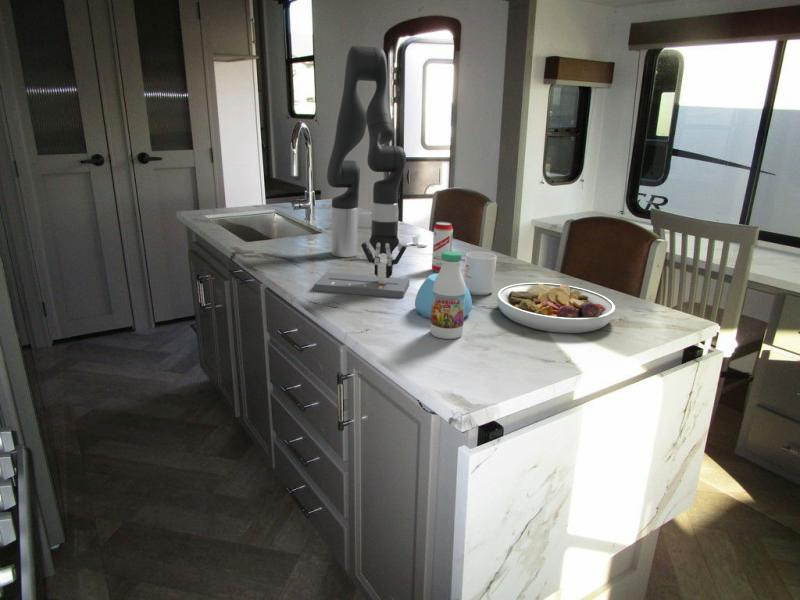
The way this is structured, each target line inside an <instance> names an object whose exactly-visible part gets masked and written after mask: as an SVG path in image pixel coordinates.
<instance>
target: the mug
mask: <svg viewBox="0 0 800 600" xmlns="http://www.w3.org/2000/svg"><path fill="white" fill-rule="evenodd" d="M464 257H465V261H464V275H463V279H464V282H465V284H466V286H467V288H468V290H469V292H470V295H474V296H487V295H489V294H491V293H492V292H493V291H494V287H495V279H496V278H495V277H496V267H497V258H498V257H497V255H496V254H494V253H491V252H487V251H470V252H467V253H466V254H465V256H464Z"/></svg>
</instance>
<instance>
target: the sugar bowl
mask: <svg viewBox="0 0 800 600" xmlns="http://www.w3.org/2000/svg"><path fill="white" fill-rule="evenodd" d="M438 274H439V273H433V274H430V275H428V276H427V278H426V279H425V280H424V281H423V283H422V284H421V285H420V287H419V289H418V290H417V293H416V296H415V299H414V306H415V309H416V311H417V312H418V313H419V314H420V315H421V316H422V317H425V318H427V319H430V320H431V310H432V295H433V286H434V282H435V279H436V277H437V275H438ZM471 295H472V294H470V292H469V290H468V288H467V286H466V284H465V307H464V318H465V317H467V315H468V314H470V313H471V311H472V309H473V302H472V296H471Z"/></svg>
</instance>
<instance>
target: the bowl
mask: <svg viewBox="0 0 800 600" xmlns="http://www.w3.org/2000/svg"><path fill="white" fill-rule="evenodd" d="M497 306H498V308H499V309H500V311H501V312H502V313H503V315H505V316H506V317H507V318H508V319H510V320H511V321H513V322H514V323H518V324H519V325H521V326H525V327H526V328H530V329H534V330H540V331H543V332H549V333H550V332H551V333H558V334H583V333H589V332H594V331H597V330H600V329H601V328H602V329H603V328H604V327H606V325H608V324H609V323H610V322H611V321H612V319H613V317H614V316H615V311H616V305H615V304H614V302H612V300H610V299H609V298H608V297H606V296H604V295H602V294H599V293H598V292H594V291H592V290H588V289H584V288H581V287H577V286H572V285H568V284H559V283H558V284H557V283H546V282H525V283H515V284H511V285H508V286H507V285H506V286H505V287H502V288H501V289H500V290H498V292H497Z"/></svg>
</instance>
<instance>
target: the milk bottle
mask: <svg viewBox="0 0 800 600" xmlns="http://www.w3.org/2000/svg"><path fill="white" fill-rule="evenodd" d="M462 256H463V254H462V253H461V252H459V251H457V250H452V251H444V252H442V255H441V259H442V260H441V262H442V266H441V269H440V272H438V273H437V274H438V275H437V277H436V279H435V282H434V286H433V295H432V310H431V319H430V326H429V328H430V331H429V332H430V334H431V335H432V336H434V337H435V338H439V339H441V340H442V339H443V340H454V339H458V338H460V337H461V336H462V334H463V332H464V331H463V330H464V322H465V321H464V320H465V319H464V318H465V317H464V307H465V282H464V275H463V274H462V270H461V264H462Z"/></svg>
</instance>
